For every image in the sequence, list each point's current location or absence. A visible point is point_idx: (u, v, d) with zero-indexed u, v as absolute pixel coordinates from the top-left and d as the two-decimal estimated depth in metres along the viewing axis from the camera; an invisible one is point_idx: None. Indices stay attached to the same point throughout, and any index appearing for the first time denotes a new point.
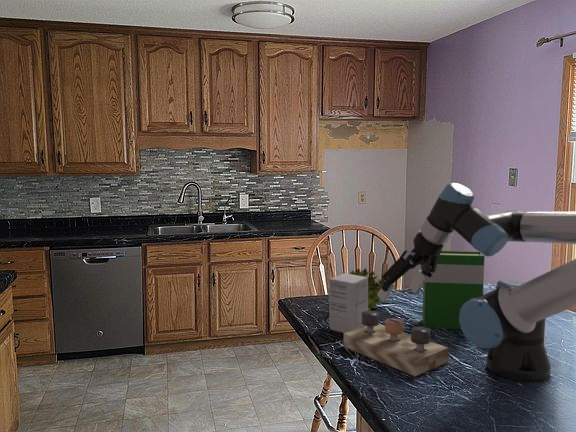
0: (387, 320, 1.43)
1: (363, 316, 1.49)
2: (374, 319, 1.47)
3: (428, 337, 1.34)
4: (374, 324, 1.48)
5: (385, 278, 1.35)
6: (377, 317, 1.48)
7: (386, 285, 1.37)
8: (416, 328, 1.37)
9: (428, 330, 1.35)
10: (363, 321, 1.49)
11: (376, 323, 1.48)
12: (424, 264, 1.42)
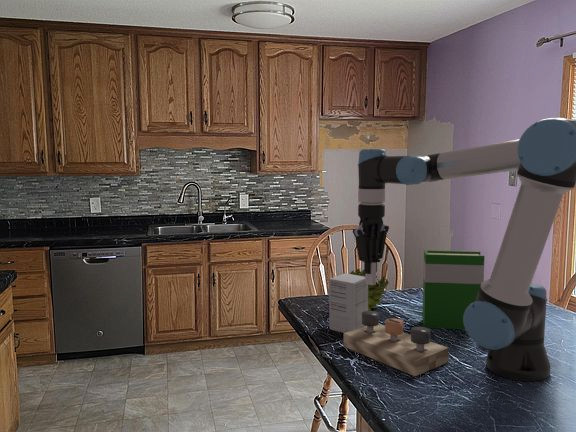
0: (387, 320, 1.43)
1: (363, 316, 1.49)
2: (374, 319, 1.47)
3: (428, 337, 1.34)
4: (374, 324, 1.48)
5: (361, 259, 1.45)
6: (377, 317, 1.48)
7: (366, 266, 1.47)
8: (416, 328, 1.37)
9: (428, 330, 1.35)
10: (363, 321, 1.49)
11: (376, 323, 1.48)
12: (374, 241, 1.47)
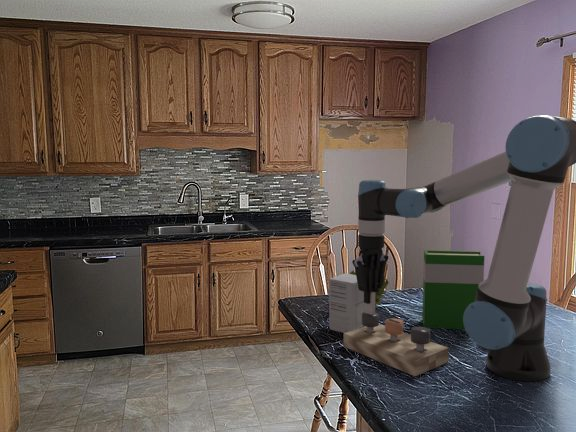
0: (387, 320, 1.43)
1: (363, 317, 1.49)
2: (374, 319, 1.48)
3: (428, 337, 1.34)
4: (374, 325, 1.48)
5: (361, 290, 1.47)
6: (377, 318, 1.48)
7: (366, 296, 1.48)
8: (416, 328, 1.37)
9: (428, 330, 1.35)
10: (363, 322, 1.49)
11: (376, 324, 1.48)
12: (373, 271, 1.48)
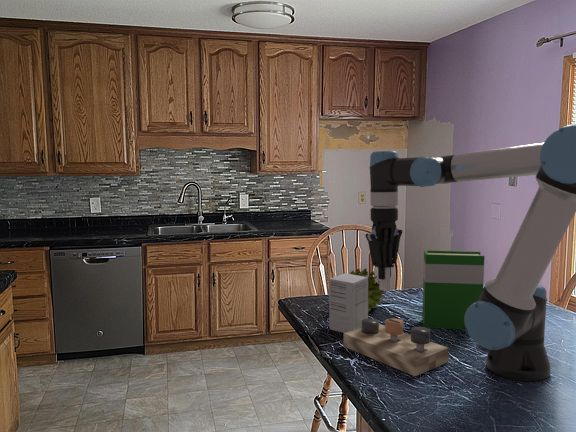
0: (387, 320, 1.43)
1: (363, 324, 1.49)
2: (374, 326, 1.48)
3: (428, 337, 1.34)
4: (374, 332, 1.48)
5: (375, 265, 1.42)
6: (377, 325, 1.48)
7: (381, 272, 1.43)
8: (416, 328, 1.37)
9: (428, 330, 1.35)
10: (363, 329, 1.49)
11: (376, 331, 1.48)
12: (387, 245, 1.43)
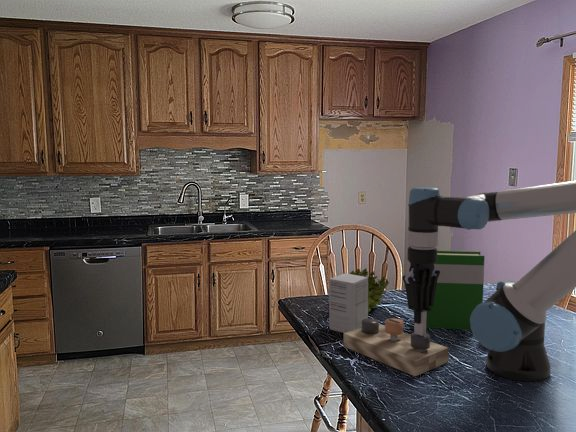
0: (387, 320, 1.43)
1: (363, 324, 1.49)
2: (374, 326, 1.48)
3: (428, 342, 1.34)
4: (374, 332, 1.48)
5: (411, 308, 1.33)
6: (377, 325, 1.48)
7: (417, 316, 1.34)
8: None
9: (428, 335, 1.35)
10: (363, 329, 1.49)
11: (376, 331, 1.48)
12: (424, 287, 1.34)
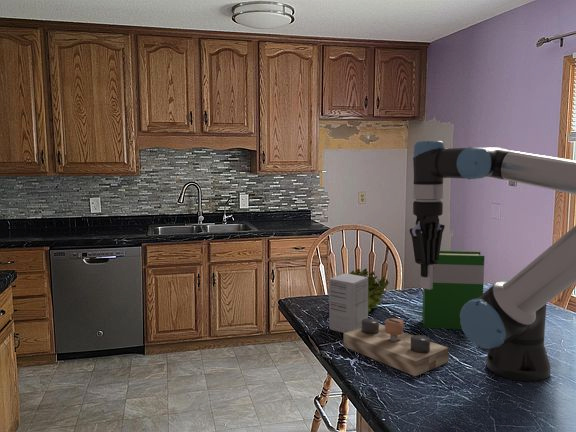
0: (387, 320, 1.43)
1: (363, 324, 1.49)
2: (374, 326, 1.48)
3: (428, 346, 1.34)
4: (374, 332, 1.48)
5: (419, 261, 1.34)
6: (377, 325, 1.48)
7: (424, 269, 1.35)
8: (416, 337, 1.37)
9: (428, 339, 1.35)
10: (363, 329, 1.49)
11: (376, 331, 1.48)
12: (430, 241, 1.35)
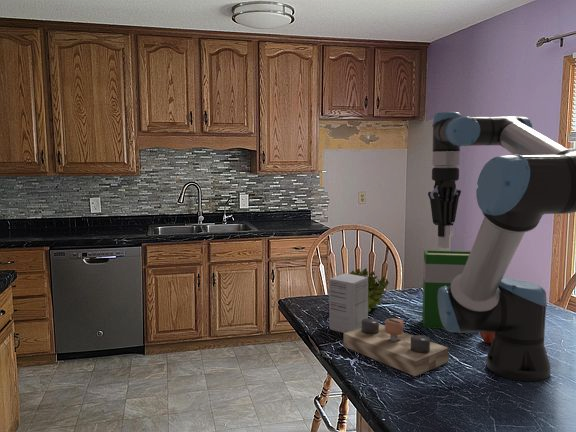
0: (387, 320, 1.43)
1: (363, 324, 1.49)
2: (374, 326, 1.48)
3: (428, 346, 1.34)
4: (374, 332, 1.48)
5: (436, 222, 1.47)
6: (377, 325, 1.48)
7: (440, 229, 1.48)
8: (416, 337, 1.37)
9: (428, 339, 1.35)
10: (363, 329, 1.49)
11: (376, 331, 1.48)
12: (447, 204, 1.49)
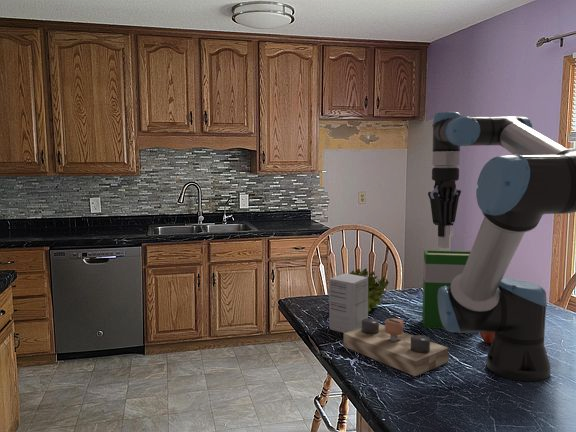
0: (387, 320, 1.43)
1: (363, 324, 1.49)
2: (374, 326, 1.48)
3: (428, 346, 1.34)
4: (374, 332, 1.48)
5: (436, 222, 1.47)
6: (377, 325, 1.48)
7: (440, 229, 1.48)
8: (416, 337, 1.37)
9: (428, 339, 1.35)
10: (363, 329, 1.49)
11: (376, 331, 1.48)
12: (447, 204, 1.49)
